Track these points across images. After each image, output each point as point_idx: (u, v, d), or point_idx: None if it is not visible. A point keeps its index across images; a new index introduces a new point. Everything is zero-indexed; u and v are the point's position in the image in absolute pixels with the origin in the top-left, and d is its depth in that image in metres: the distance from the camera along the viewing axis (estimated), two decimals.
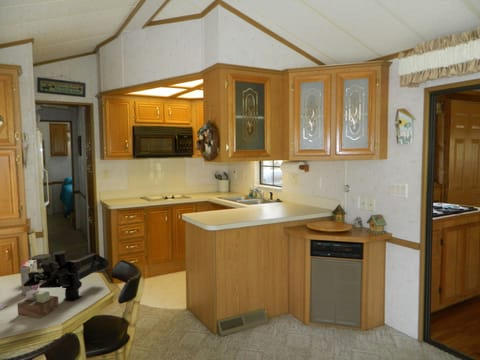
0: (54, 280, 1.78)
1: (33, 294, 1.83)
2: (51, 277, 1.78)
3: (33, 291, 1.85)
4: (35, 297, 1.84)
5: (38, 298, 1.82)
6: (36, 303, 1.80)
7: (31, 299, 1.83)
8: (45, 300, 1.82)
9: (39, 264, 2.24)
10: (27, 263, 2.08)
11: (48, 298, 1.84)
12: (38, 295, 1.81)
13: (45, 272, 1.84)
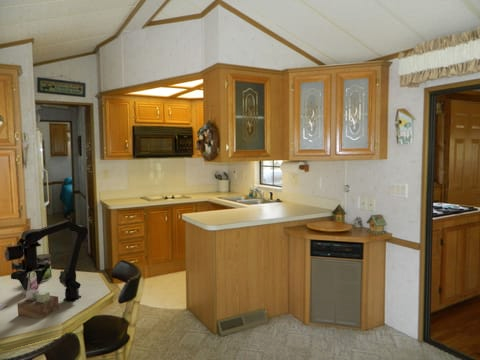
0: None
1: (33, 294, 1.83)
2: None
3: (33, 291, 1.85)
4: (35, 297, 1.84)
5: (38, 298, 1.82)
6: (36, 303, 1.80)
7: (31, 299, 1.83)
8: (45, 300, 1.82)
9: None
10: None
11: (48, 298, 1.84)
12: (38, 295, 1.81)
13: None
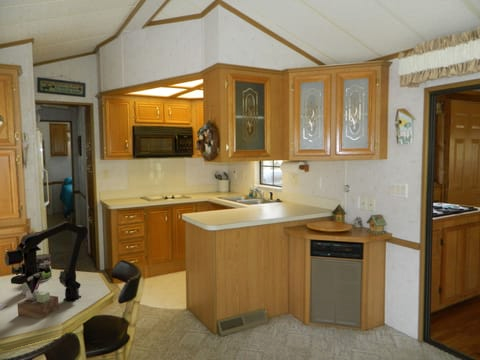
0: None
1: (33, 294, 1.83)
2: None
3: (33, 291, 1.85)
4: (35, 297, 1.84)
5: (38, 298, 1.82)
6: (36, 303, 1.80)
7: (31, 299, 1.83)
8: (45, 300, 1.82)
9: (39, 264, 2.24)
10: None
11: (48, 298, 1.84)
12: (38, 295, 1.81)
13: None
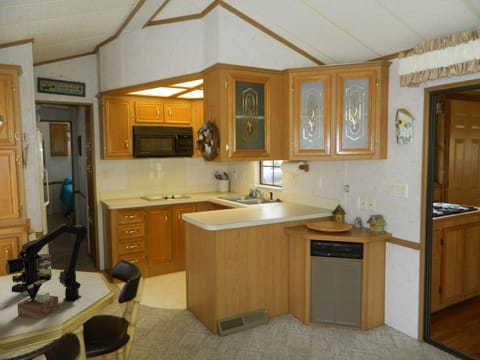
0: None
1: None
2: None
3: (34, 299, 1.85)
4: None
5: (38, 298, 1.82)
6: (36, 303, 1.80)
7: None
8: (45, 300, 1.82)
9: (39, 264, 2.24)
10: None
11: (48, 298, 1.84)
12: (38, 295, 1.81)
13: None
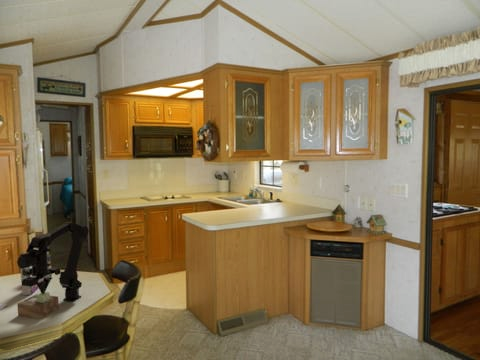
0: None
1: None
2: None
3: (34, 299, 1.85)
4: None
5: (38, 299, 1.82)
6: (36, 303, 1.80)
7: None
8: (45, 301, 1.82)
9: None
10: None
11: (48, 299, 1.84)
12: (38, 296, 1.81)
13: None
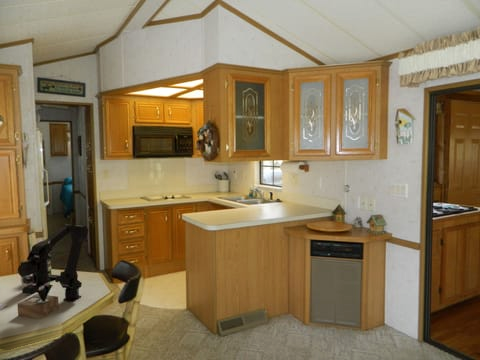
0: None
1: None
2: None
3: (34, 299, 1.85)
4: None
5: None
6: (36, 303, 1.80)
7: None
8: None
9: None
10: None
11: None
12: None
13: None
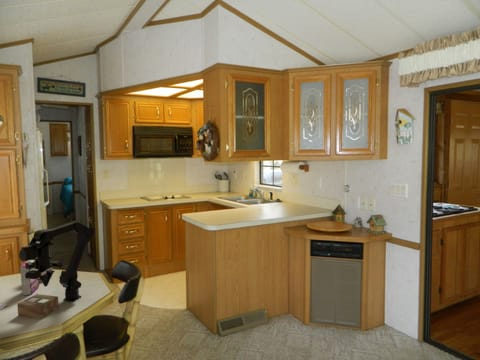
0: None
1: None
2: None
3: (34, 299, 1.85)
4: None
5: None
6: (36, 303, 1.80)
7: None
8: None
9: None
10: None
11: None
12: None
13: None
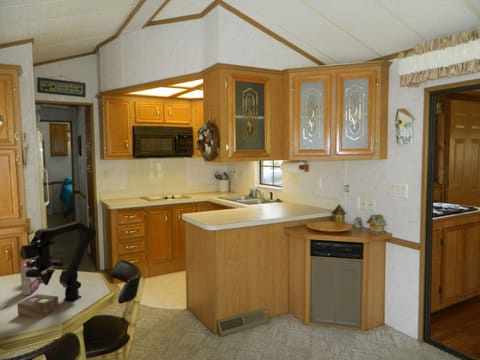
0: None
1: None
2: None
3: (34, 299, 1.85)
4: None
5: None
6: (36, 303, 1.80)
7: None
8: None
9: None
10: None
11: None
12: None
13: None
